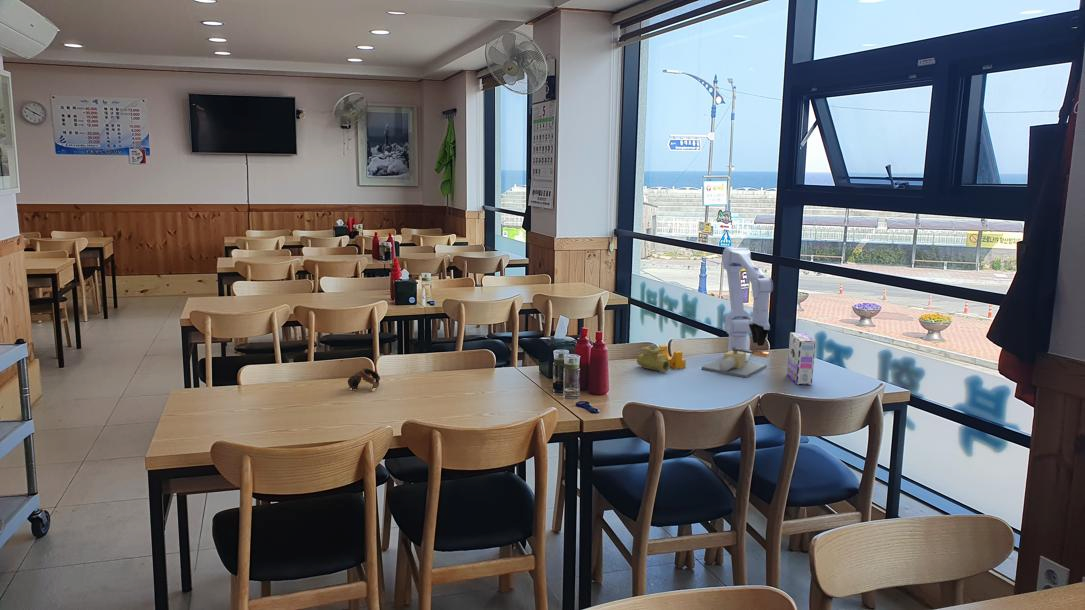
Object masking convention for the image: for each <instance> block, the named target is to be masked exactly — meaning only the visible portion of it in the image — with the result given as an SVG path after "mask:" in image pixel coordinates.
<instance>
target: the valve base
mask: <svg viewBox="0 0 1085 610" xmlns="http://www.w3.org/2000/svg"><path fill="white" fill-rule="evenodd" d="M724 354H725V356H724V355H723V356H722V357H720V358H718V359H716V360H714V361H712V362H709V363H707V364H705V365H702V366H701V370H704V371H709V372H714V373H719V374H724V375H729V376H735V377H740V378H745V379H747V378H749V377H752V375H755V374H756V373H758V372H761V371H762V370H764V369H765V368H767V364H766V363H760V362H755V361H754V362H753V361H749V360H750V358H751V355H750V354H749V353H745V352H738V351H732V350H731V351H729V352H728V351H727V352H725V353H724Z"/></svg>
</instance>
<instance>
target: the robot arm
mask: <svg viewBox="0 0 1085 610" xmlns="http://www.w3.org/2000/svg"><path fill="white" fill-rule="evenodd" d="M751 253H752V252H751V251H750V249H749V247H725V248H724V249H723V252H722V256H721V259H722V266H723V269H724V270H725V271H726V276H727V277H726V278H727V283H728V292H729V293H728V294H729V301H730V310H731V311H730V312H728V313H727V314H726V316H725V323H724V328H725V332H726V334H728V347H727V352H729V351H731V350H732V347H737V348H740V349H746V350H751V349H750V347H751V337H752V343H753V344H757V346H760V347H762V346H764V345H765V342H766V338H767V336H768V335H769V332H771V325H770V322H769V307H770V294H771V293H772V292H773V290H774V283H773V282H774V281H773V280H772V278H771V277H768V276H765V274H764V273H763V271H762V270H761V269H760V267H759V266H757V265H755V264H754V263H753V260H752V258H751ZM742 270H745V271H746V272H745V276H746V278H747V279H748V280H749V283H751V284H750V285H751V291H752V292H751V293H752V294H751V295H752V297H753V302H752V303H753V304H752V316H751V314H750V313H749V312H747V311H746V310H745V306H744V298H743V290H742V281H741V273H740V272H741V271H742ZM750 334H751V337H750ZM738 352H739V351H738ZM749 354H750V353H749ZM724 356H725V353H724V354H723V357H724ZM750 356H752V354H750Z"/></svg>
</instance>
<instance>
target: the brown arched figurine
mask: <svg viewBox="0 0 1085 610" xmlns="http://www.w3.org/2000/svg"><path fill="white" fill-rule="evenodd" d="M370 375H371V376H370ZM380 380H381V377H380V375H379V374H378V373H377V372H375V371H374V370H372V369H369V368H366V367H365V368H361V370H359V371H357V372H355V373H354V375H351V376H350V377H349V378H348V379H347V385H348V386H349V388H350V387H351V388H352V390H353V389H357V390H358V387H359V385H360V383H361V381H365V382H367V383H369V384H371V385H372V386H371V387H372V388H371V389H373V388H376V389H378V388H379V386H380ZM377 387H378V388H377Z"/></svg>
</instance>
